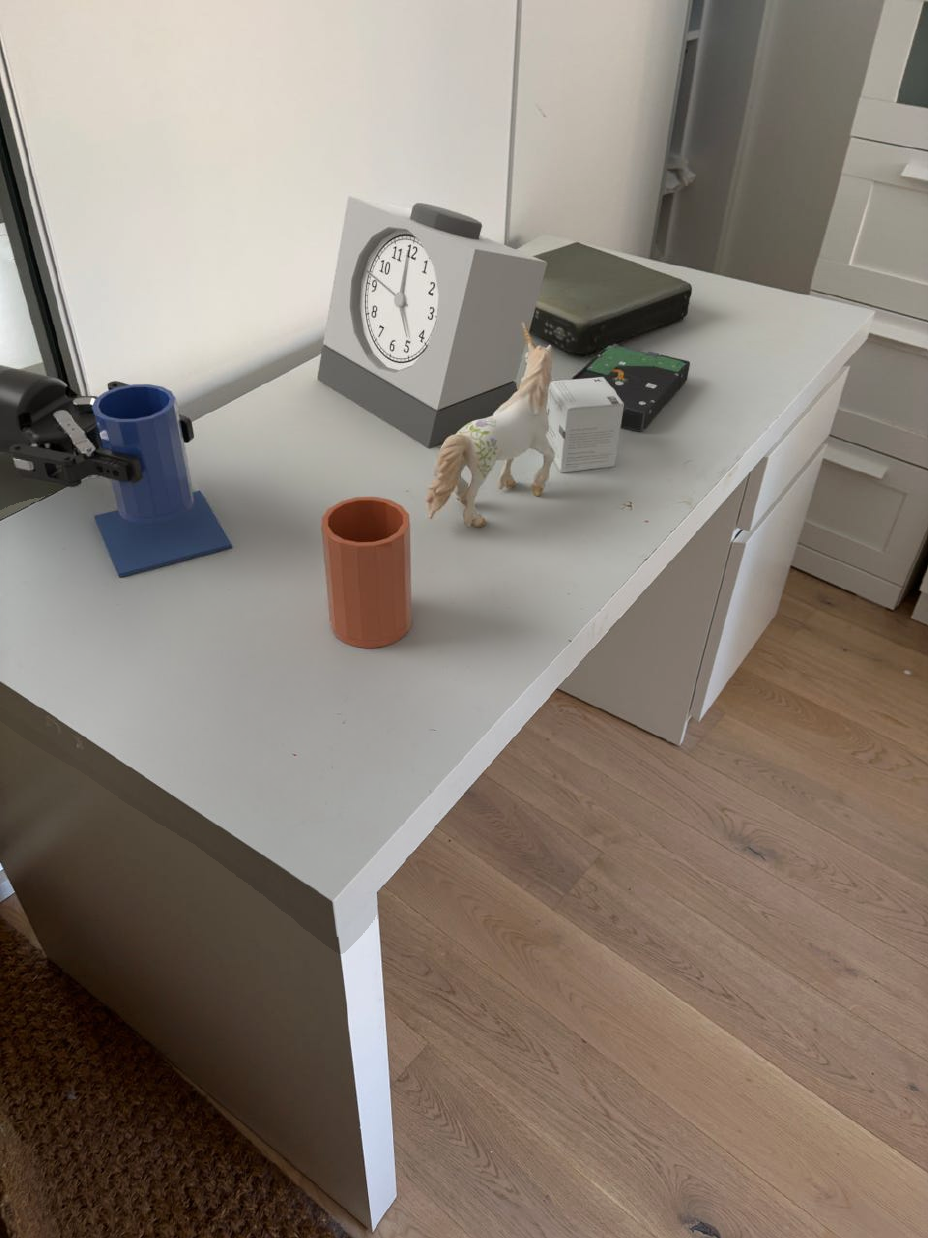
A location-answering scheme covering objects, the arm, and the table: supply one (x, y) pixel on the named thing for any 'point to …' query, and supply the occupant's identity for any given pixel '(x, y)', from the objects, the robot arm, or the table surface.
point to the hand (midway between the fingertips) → (165, 450)
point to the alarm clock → (426, 317)
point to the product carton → (583, 423)
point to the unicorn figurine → (498, 441)
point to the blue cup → (146, 451)
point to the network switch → (602, 299)
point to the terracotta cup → (368, 570)
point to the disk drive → (638, 381)
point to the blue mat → (161, 538)
